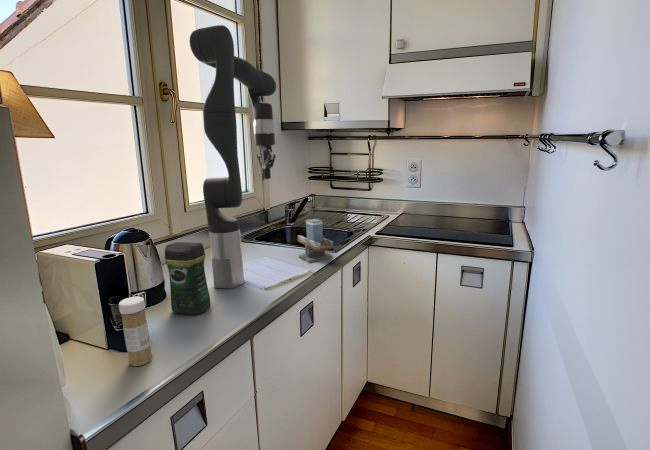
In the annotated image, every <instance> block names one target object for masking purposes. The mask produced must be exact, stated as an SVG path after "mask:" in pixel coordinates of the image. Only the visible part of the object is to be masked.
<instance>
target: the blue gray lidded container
mask: <svg viewBox="0 0 650 450" xmlns="http://www.w3.org/2000/svg"><path fill="white" fill-rule="evenodd" d="M323 223H324V221H323V220H321V219H318V218H311V219H305V227H306V237H307V238H308V239H310V240H312V241H315V242H317V243H320V242H323V238H324V234H323V233H324V232H323V231H324V230H323V229H324V228H323Z"/></svg>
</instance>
